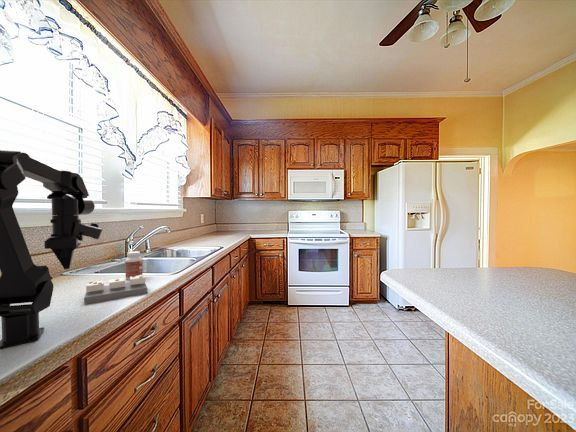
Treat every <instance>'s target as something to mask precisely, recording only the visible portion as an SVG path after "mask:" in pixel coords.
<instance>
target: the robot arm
mask: <svg viewBox="0 0 576 432" xmlns="http://www.w3.org/2000/svg"><path fill="white" fill-rule="evenodd" d="M26 178H28V179H31V180H33V181H37V182H39V183H42V186H43V188H45V189H47V190H48V191H50V192H51V193H50V194H48V195H47V196H46V198H47V199H48V200H51V219H50V224H52V225H51V226H52V233H51V234H50V237H48V238H47V239H46V240H44V249H45V250H47V249H50V250H51V251H52V253H53V254H54V255H55V256H56V259H57V260H58V262H60V264H61V266H62V268H63V269H64V270H69V269H70V268H71V264H72V261H73V260H72V259H73V256H74V252H75V250H77V248H79V246H80V245H81V242H83V241H84V236H85V237H88V238H92V239H95V240H99V239H100V237H101V234H102V232H103V228H102V227H99V223H96V222H91V224H85V223H82V219H80V216H85V215H89V214H91V213H92V212H93V211H94V210H95V207H96V206H95V203H94V201H93V200H92V199H90V198H89V195H90V194H89V192H88V190H87V186H86V185H85V181H84V179H83V178H82V177H81V175H80V174H79V173H78V172H75V171H71V170H62V169H57V168H55V167H53V166H51V165H49V164H47V163H44V162H42V161H40V160H38V159H36V158H34V157H31V156H30V155H29V154H28V153H26V152H23V151H20V150H1V149H0V274H1V275H0V318H1V320H0V322H1V339H0V349H4V348H9V347H13V346H14V347H15V346H17V345H22V344H26V343H27V344H28V343H31V342H35V341H38V340H39V339H40V337H41V336H42V335H43V333H44V331H45V327H40V312H43V310H46V309H48V308H49V307H50V306H51V302H52V297H53V292H54V283H53V281H52V280H53V277H52V275H51V274H50V269H49V267H48V266H47V265H36V264H35V263H34V262H33V259H32V256H31V253H30V251H29V247H28V245H27V243H26V239H25V238H24V234H23V231H22V229H21V227H20V224H19V221H18V218H17V216H16V213H15V210H14V207H13V205H14V202H15V201H16V199H17V197H18V195H19V190H18V186H19V185H20V184H22V182H23V181H25V180H26ZM79 241H81V242H79Z"/></svg>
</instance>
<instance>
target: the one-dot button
mask: <svg viewBox="0 0 576 432" xmlns="http://www.w3.org/2000/svg"><path fill="white" fill-rule="evenodd" d="M125 283H126V277H121V278H113V279H109V283H108V285H109V289H111V288H118V287H124V286H125Z"/></svg>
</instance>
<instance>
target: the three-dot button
mask: <svg viewBox="0 0 576 432" xmlns="http://www.w3.org/2000/svg"><path fill="white" fill-rule="evenodd" d="M104 286H105V280H98V281H91V282H87V283H86V286H85V289H86V291H85V293H86V292H92V291H98V290H104Z"/></svg>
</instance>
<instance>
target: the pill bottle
mask: <svg viewBox="0 0 576 432" xmlns="http://www.w3.org/2000/svg"><path fill="white" fill-rule="evenodd" d="M126 254H127V258H126V259H125V261H124V265H125V270H124V271H125V280H129V281H130V277H131V276H138V275H144V274H143V258H142V257H141V252H140V251H139V250H137V251H129V252H127V253H126Z"/></svg>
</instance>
